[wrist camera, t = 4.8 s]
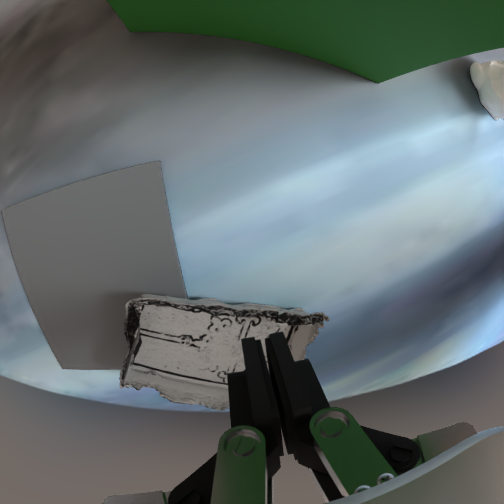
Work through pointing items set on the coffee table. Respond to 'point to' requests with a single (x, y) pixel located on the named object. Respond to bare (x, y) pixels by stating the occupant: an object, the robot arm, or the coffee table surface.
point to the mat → (94, 260)
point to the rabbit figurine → (490, 86)
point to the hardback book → (336, 28)
